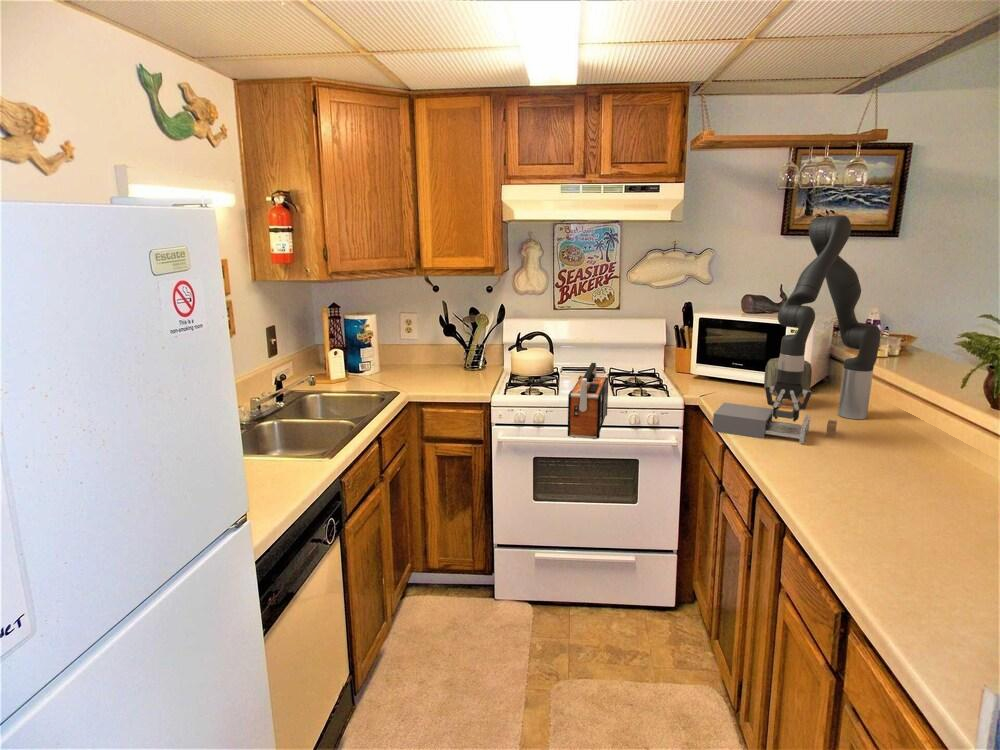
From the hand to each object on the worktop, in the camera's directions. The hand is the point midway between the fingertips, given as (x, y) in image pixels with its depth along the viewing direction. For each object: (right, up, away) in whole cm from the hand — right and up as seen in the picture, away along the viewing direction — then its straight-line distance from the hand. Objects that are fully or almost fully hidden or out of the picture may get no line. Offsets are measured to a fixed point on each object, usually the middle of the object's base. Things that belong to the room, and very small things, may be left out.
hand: (785, 419), depth 208 cm
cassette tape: (0, +2, 0) cm, 2 cm away
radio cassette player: (-63, -4, +9) cm, 63 cm away
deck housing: (-11, -4, +8) cm, 14 cm away
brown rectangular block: (+16, -5, +1) cm, 16 cm away
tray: (-1, -4, +2) cm, 5 cm away
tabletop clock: (+15, +3, +36) cm, 39 cm away
